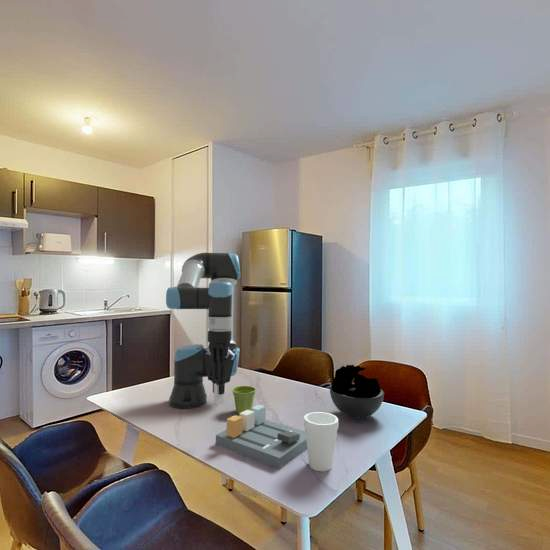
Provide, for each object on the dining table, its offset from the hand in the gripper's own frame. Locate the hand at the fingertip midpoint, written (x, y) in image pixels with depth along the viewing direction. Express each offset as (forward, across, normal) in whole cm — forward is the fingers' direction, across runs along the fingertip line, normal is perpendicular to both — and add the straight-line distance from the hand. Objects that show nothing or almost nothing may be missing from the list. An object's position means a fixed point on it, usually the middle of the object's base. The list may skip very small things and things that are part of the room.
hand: (218, 403), depth 114 cm
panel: (+12, +14, +7) cm, 19 cm away
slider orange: (+8, +7, 0) cm, 10 cm away
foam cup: (+12, +34, +6) cm, 36 cm away
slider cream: (+8, +7, +6) cm, 12 cm away
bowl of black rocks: (+11, +28, +46) cm, 55 cm away
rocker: (+7, +23, +6) cm, 25 cm away
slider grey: (+8, +7, +12) cm, 16 cm away
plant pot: (+11, -9, +24) cm, 28 cm away
